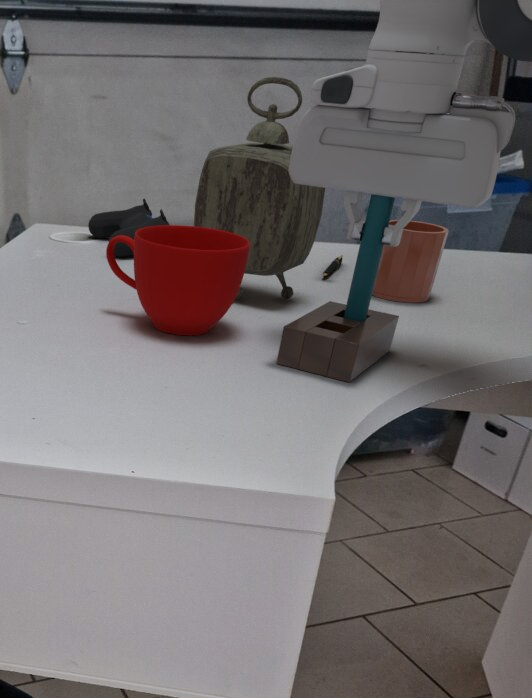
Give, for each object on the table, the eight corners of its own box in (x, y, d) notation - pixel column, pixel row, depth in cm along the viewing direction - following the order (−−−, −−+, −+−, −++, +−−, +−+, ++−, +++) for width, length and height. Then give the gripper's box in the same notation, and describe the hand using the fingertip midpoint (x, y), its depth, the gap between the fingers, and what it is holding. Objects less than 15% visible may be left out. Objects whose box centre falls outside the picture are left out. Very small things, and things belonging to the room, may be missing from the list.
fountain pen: (326, 281, 121) (328, 270, 120) (318, 280, 122) (320, 269, 121) (343, 263, 132) (346, 253, 131) (336, 261, 132) (338, 251, 132)
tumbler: (435, 294, 119) (455, 227, 113) (419, 306, 113) (439, 235, 108) (377, 283, 122) (394, 217, 117) (359, 294, 116) (376, 225, 111)
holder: (389, 350, 95) (399, 315, 93) (349, 382, 86) (359, 344, 83) (322, 335, 99) (329, 300, 97) (276, 363, 89) (283, 326, 87)
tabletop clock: (304, 300, 112) (348, 82, 97) (277, 313, 105) (321, 83, 91) (208, 279, 118) (237, 72, 104) (178, 291, 112) (204, 72, 97)
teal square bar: (366, 329, 93) (399, 192, 85) (359, 333, 91) (392, 194, 83) (345, 324, 94) (376, 188, 86) (338, 329, 92) (369, 191, 84)
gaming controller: (124, 276, 126) (181, 241, 125) (107, 241, 123) (166, 205, 122) (97, 250, 139) (149, 218, 138) (82, 219, 136) (135, 185, 135)
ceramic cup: (126, 299, 107) (133, 215, 101) (250, 325, 101) (266, 237, 95) (78, 322, 97) (83, 231, 91) (212, 352, 91) (227, 256, 85)
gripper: (528, 97, 77) (480, 254, 85) (320, 80, 86) (294, 223, 94) (515, 99, 73) (466, 264, 81) (297, 81, 82) (272, 231, 90)
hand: (372, 242), depth 88 cm, fingers closed on teal square bar, 2 cm apart
